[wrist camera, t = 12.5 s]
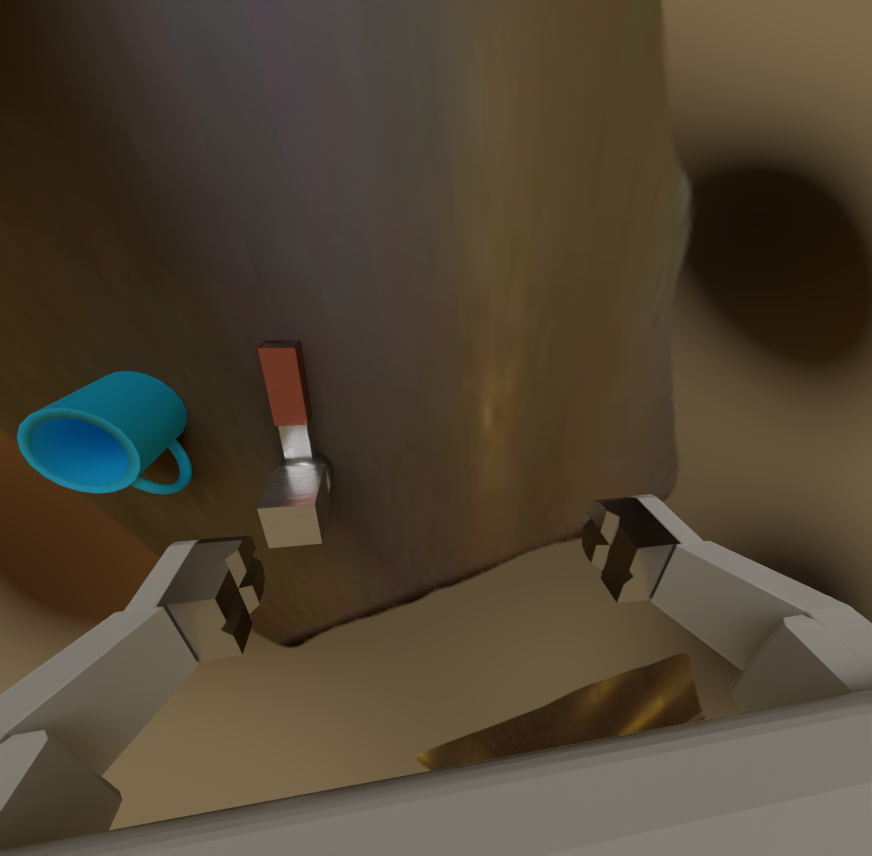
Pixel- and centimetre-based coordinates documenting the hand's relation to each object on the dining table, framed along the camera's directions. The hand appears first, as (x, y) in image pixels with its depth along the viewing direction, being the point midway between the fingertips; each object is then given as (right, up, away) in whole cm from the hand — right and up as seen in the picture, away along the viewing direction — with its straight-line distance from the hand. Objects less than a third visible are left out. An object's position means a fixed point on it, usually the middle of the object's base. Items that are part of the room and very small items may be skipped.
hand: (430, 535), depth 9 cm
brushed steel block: (-14, -4, +30) cm, 33 cm away
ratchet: (-15, +3, +30) cm, 33 cm away
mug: (-29, +3, +28) cm, 40 cm away
